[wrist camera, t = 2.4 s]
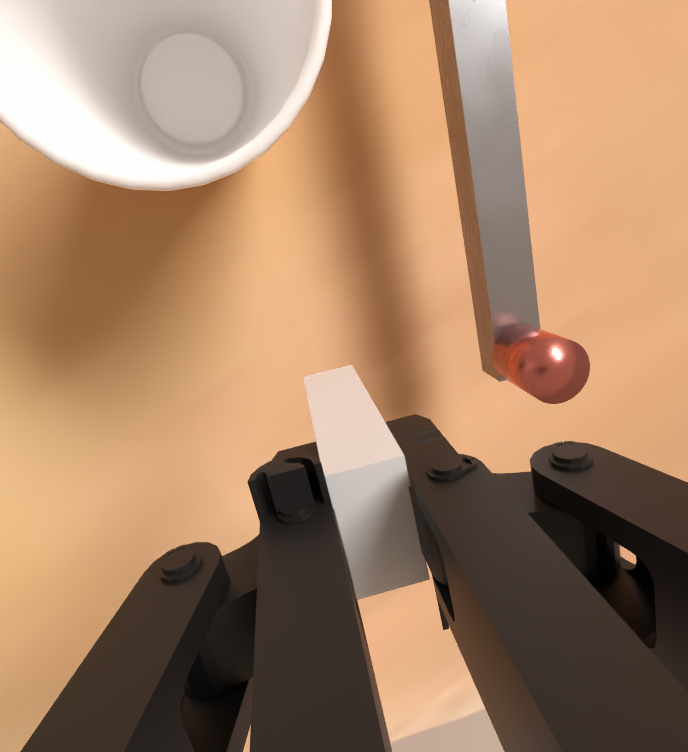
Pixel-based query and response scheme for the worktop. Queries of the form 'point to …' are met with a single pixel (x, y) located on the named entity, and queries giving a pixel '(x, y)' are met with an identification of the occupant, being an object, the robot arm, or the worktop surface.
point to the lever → (497, 202)
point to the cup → (157, 83)
